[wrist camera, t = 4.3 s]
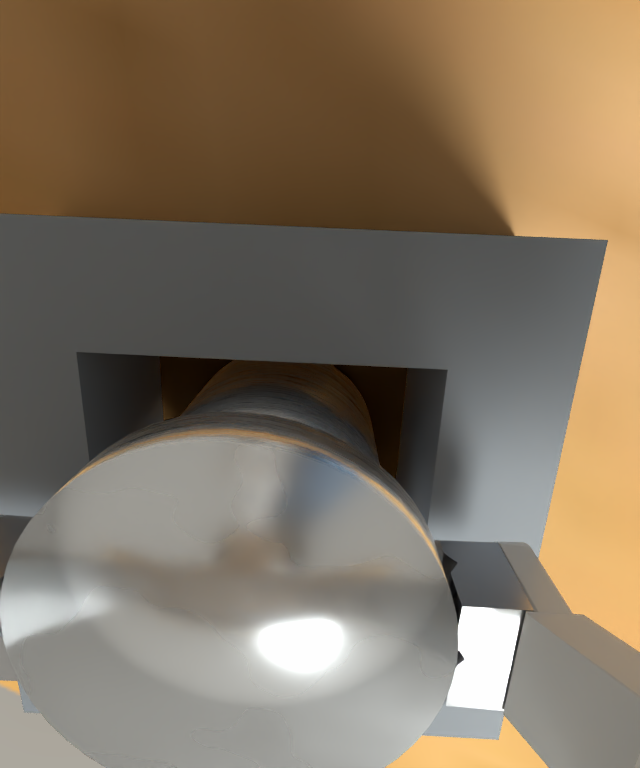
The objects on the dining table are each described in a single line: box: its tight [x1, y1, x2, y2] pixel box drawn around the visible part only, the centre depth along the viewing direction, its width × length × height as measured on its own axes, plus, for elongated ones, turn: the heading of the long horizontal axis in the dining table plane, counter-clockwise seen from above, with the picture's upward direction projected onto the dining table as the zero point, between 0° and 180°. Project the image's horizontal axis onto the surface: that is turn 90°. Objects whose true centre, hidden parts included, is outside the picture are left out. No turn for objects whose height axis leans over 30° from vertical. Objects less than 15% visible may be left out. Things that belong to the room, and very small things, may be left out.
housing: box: [0, 214, 608, 740], centre depth 11 cm, size 11×11×4 cm
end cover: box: [0, 360, 459, 768], centre depth 10 cm, size 6×6×7 cm
